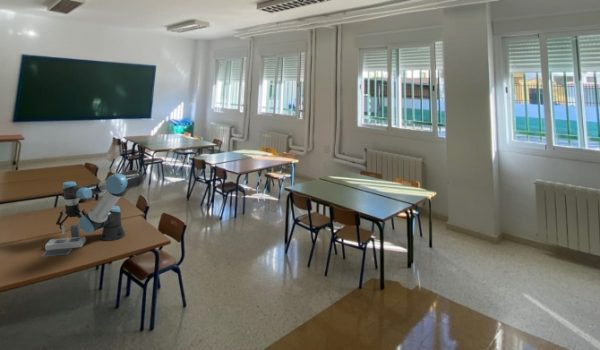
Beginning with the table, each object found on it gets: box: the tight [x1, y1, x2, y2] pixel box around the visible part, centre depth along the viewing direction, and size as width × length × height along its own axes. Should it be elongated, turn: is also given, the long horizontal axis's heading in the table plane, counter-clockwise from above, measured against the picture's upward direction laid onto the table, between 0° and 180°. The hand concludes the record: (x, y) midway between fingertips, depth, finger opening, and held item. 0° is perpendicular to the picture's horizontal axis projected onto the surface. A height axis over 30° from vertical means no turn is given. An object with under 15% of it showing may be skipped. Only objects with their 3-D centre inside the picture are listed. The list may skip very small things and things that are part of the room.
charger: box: [69, 223, 82, 238], centre depth 219 cm, size 4×4×10 cm
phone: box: [41, 248, 73, 258], centre depth 200 cm, size 7×14×1 cm, turn 109°
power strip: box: [44, 235, 87, 251], centre depth 209 cm, size 20×9×4 cm, turn 109°
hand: (75, 232), depth 219 cm, fingers open, 13 cm apart
